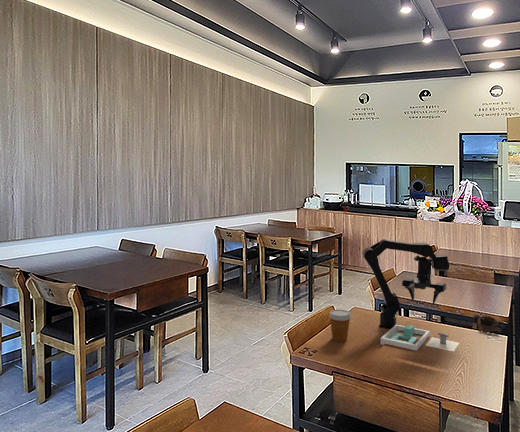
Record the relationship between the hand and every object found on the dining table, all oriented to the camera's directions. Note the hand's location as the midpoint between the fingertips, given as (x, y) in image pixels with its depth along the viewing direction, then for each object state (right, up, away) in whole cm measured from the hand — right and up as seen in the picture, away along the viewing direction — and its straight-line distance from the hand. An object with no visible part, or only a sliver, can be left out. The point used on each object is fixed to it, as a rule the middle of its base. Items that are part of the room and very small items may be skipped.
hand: (423, 302), depth 204 cm
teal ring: (-13, -13, -15) cm, 24 cm away
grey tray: (-13, -14, -15) cm, 24 cm away
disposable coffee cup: (-41, -14, -12) cm, 45 cm away
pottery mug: (+27, -13, -3) cm, 30 cm away
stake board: (0, -14, -21) cm, 25 cm away
